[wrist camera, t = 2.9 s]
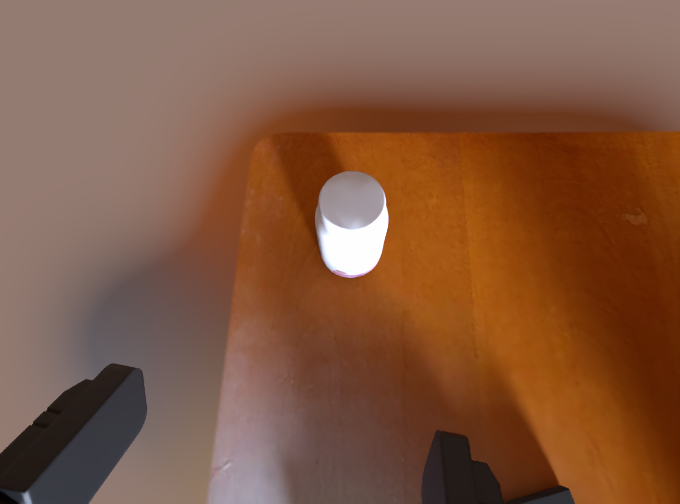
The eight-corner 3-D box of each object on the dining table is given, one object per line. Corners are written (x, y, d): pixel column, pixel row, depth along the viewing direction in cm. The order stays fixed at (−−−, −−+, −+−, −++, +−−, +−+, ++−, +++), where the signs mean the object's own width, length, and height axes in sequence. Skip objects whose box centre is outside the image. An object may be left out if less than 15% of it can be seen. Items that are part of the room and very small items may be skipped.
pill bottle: (393, 245, 32) (409, 196, 24) (354, 291, 31) (357, 254, 23) (347, 210, 33) (347, 151, 25) (307, 252, 32) (294, 204, 24)
